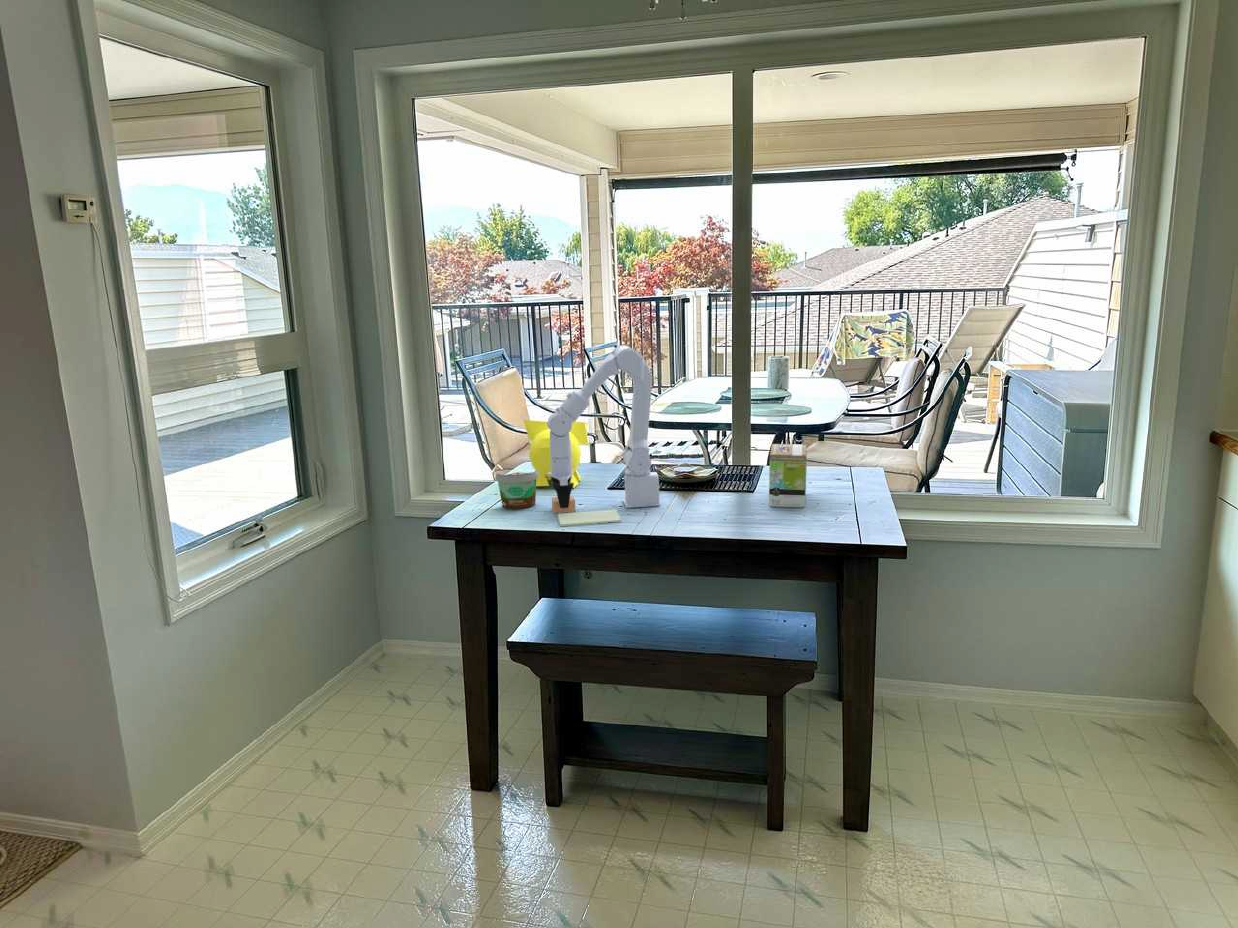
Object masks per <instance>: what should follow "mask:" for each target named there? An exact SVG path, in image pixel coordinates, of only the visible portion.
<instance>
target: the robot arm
mask: <svg viewBox="0 0 1238 928" xmlns="http://www.w3.org/2000/svg"><path fill="white" fill-rule="evenodd" d="M620 370H622V371H623V372H625V373H626V374H627V375H628V376H629V378H631V380H632V381H633V387H632V388H633V389H632V402H631V403H632V404H631V414H630V415H631V416H630V425H629V438H628V440H627V443H626V449H625V450H624V452H623V455H622V461H623V463H624V465H626V468H625V470H624V471H623V473H624V474H623V475H624V476H623V477H624V493H625V494H624V496H625V498H623V499H622V502H623V504H624V507H625V508H626V509H629V508H630V509H631V508H634V509H635V508H645V507H647V508H648V507H659V506H660V505H661V503H660V481H659V475H658V472H657V471H651V467H652V460H651V457H650V454H649V453H650V449H649V443H648V437H649V436H648V435H649V427H650V425H649V424H650V412H651V411H650V410H651V400H652V387H653V374H652V372H651V370H650V368H649V366H648V365H647V363H646V361H645V358H644V356H643V355H642V354H641V353H639V351H637V350H636V349H634V348H632V347H630V346H628V345H625V344H623V345H618V346H616V347H615V348H614V349H613V350H612V352H611V353H609V354H608V355H607V356H606V357H605V358H604V359H603V361H602V362H601V363H600V364H599V365H598V367H597V368H596V369H595V371H594V372H593V374H591V376H590V377H589V378H588V380H586V382H585V383H584V384H583V386H582V387H581V388H580V389H579V390H573V391H572V392H568V393H567V394H566V399H565V400H564V401H563V402H562V404H560V406H559V407H558V406H557V407H556V408H555V409H554V411H555V412H553V413H551V414H550V415H549V417H548V419H547V421H546V422H547V425H548V428H549V429H548V430H551V431H550V457H551V472H548V473H547V476H552V477H551V480H552V487H553V488H554V491H555V493H556V495H557V496H556V497H558V500H559V504H560V508H568V506H569V500H570V496H571V494H572V493H571V492H572V491H573V490H572V489H574V488H573V486H574V483H570V480H571V478H572V475H573V471H572V458H571V440H570V433H569V432H570V431H571V428H572V423H573V422H577V420H578V419H579V418H580V416H581V415H582V414H583V413H584V412H585V410H587V408H588V407H589V406H590V403H591V402H590V398H591V396H593V395H594V394H595V393H596V392H597V390H598V389H599V388H600V387H601V386H602V385H603V384H604V383H605V382H606V380H607V379H608V378H609V377H612V376H616V375H620V374H621V372H620Z"/></svg>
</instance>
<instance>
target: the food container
mask: <svg viewBox="0 0 1238 928" xmlns="http://www.w3.org/2000/svg"><path fill="white" fill-rule="evenodd" d="M538 477H539V475H538V471H537V469H536V470H535V471H532V472H512V473H509V474H501V473H498V472H496V474H495V478H494V479H495V481H496V482H497V484H498V490H499V494H500V495H499V496H500V500H501V507H502V508H504V509H505V510H513V511H515V510H517V511H518V510H525V509H530V508H533V507H534V506H536V498H537V497H536V496H537V486H536V479H537V478H538Z"/></svg>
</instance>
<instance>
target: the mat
mask: <svg viewBox="0 0 1238 928" xmlns="http://www.w3.org/2000/svg"><path fill="white" fill-rule="evenodd" d="M557 519H558V523H559V527H561V528H562V527H573V526H587V525H598V523H601V524H609V523H608V522H615V523H622V518H621V516H620V514H619V513H618V510H617V509H606V510H605V509H604V510H602V509H601V510H590V511H589V510H588V511H578V512H567V513H557Z"/></svg>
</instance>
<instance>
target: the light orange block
mask: <svg viewBox="0 0 1238 928" xmlns="http://www.w3.org/2000/svg"><path fill="white" fill-rule="evenodd" d="M551 509H552V511H553V514H561V513H566V512H567V513H574V512H576V499H575V497H574V496H573V495H570V500H569V506H568V508H560V504H559V500H558V496H556V497H555V496H554V497H551Z"/></svg>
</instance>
